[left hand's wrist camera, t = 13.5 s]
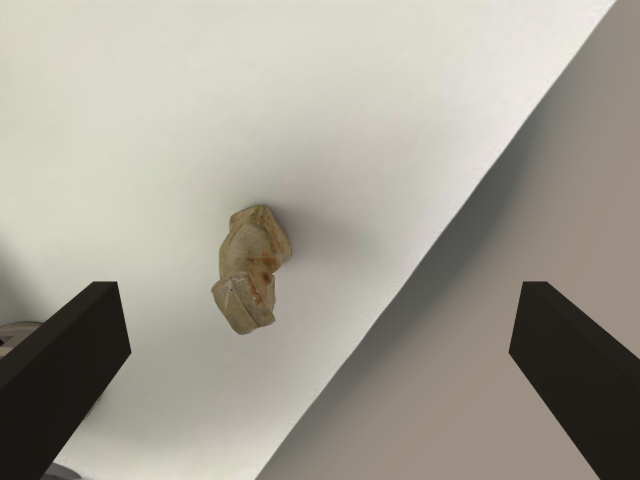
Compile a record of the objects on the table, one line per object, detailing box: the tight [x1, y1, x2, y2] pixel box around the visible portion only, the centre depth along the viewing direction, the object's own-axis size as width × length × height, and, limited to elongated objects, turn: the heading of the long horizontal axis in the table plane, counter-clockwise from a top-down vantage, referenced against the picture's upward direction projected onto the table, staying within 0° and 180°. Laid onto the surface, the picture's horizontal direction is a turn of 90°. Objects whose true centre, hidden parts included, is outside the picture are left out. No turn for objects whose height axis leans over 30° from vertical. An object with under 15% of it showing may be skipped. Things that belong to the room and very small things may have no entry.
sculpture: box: [211, 205, 292, 335], centre depth 36 cm, size 6×7×15 cm
